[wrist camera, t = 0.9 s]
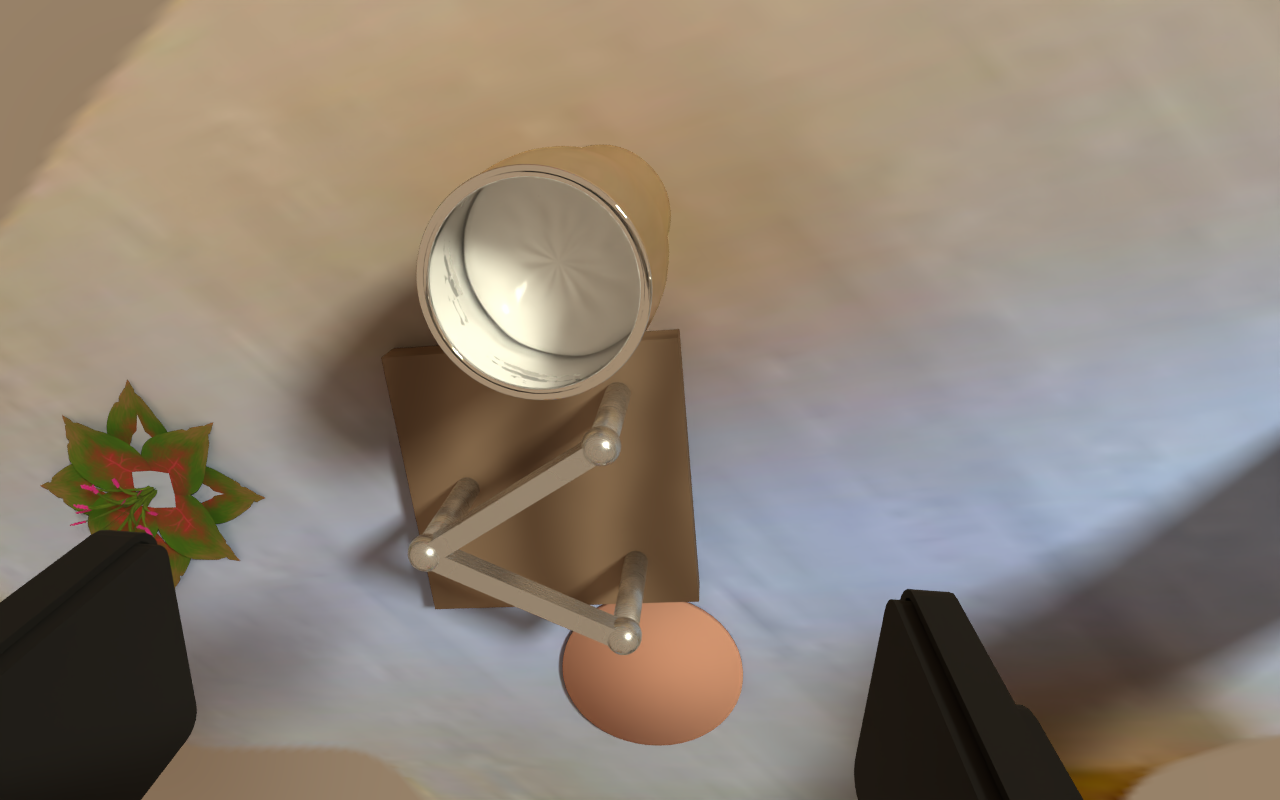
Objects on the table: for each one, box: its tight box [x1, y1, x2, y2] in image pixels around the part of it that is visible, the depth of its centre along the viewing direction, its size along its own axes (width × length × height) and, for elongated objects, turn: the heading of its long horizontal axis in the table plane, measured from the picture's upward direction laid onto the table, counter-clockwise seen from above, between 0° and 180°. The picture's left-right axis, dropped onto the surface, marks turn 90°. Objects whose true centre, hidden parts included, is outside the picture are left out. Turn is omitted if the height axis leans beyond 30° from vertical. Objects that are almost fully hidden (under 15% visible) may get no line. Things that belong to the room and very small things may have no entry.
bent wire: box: [408, 382, 648, 655], centre depth 36 cm, size 10×11×7 cm
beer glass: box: [416, 145, 671, 400], centre depth 29 cm, size 7×7×15 cm
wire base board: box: [381, 329, 699, 609], centre depth 40 cm, size 14×14×2 cm
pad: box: [562, 602, 743, 745], centre depth 44 cm, size 10×10×1 cm
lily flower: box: [40, 380, 265, 587], centre depth 41 cm, size 12×12×5 cm
